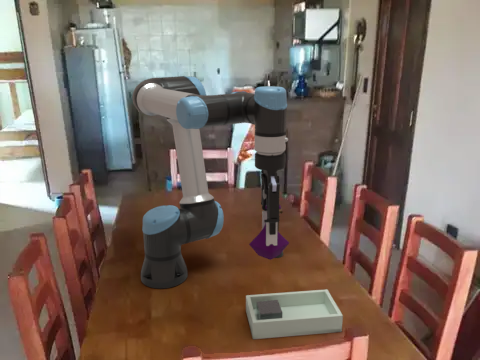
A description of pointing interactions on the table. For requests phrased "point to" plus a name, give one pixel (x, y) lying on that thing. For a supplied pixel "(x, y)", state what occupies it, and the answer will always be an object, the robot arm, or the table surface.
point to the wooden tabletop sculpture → (278, 231)
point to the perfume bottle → (271, 250)
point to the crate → (295, 314)
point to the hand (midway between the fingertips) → (269, 239)
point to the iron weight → (268, 310)
